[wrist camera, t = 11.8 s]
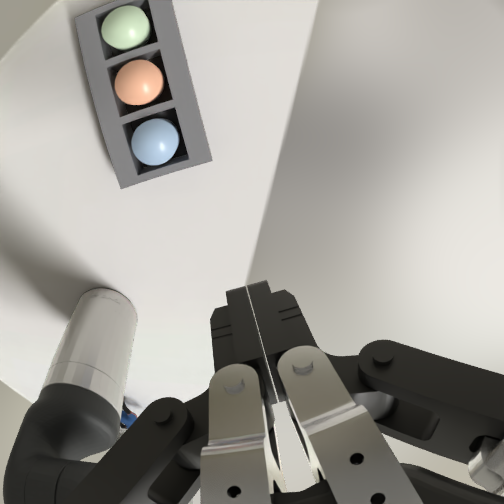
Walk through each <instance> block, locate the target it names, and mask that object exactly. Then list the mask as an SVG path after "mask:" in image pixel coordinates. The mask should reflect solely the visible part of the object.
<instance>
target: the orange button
mask: <svg viewBox="0 0 504 504" xmlns="http://www.w3.org/2000/svg"><path fill="white" fill-rule="evenodd" d="M164 86H165V78H164V75H163V73H162V71H161V70H160V69H159V68H158V67H156V66H155V65H154V64H153V63H151V62H149V61H146V60H135V61H131V62H129V63H127V64H126V65H124V66H123V67H122V68H121V69H120V71H119V72H118V74H117V76H116V79H115V91H116V93H117V95H118V97H119V98H120V99H121V100H122V101H123V102H125V103H127V104H131V105H144V104H149V103H151V102H153V101H155V100H156V99H157V98H158V97H159V96H160V95H161V94H162V92H163V90H164Z"/></svg>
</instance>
